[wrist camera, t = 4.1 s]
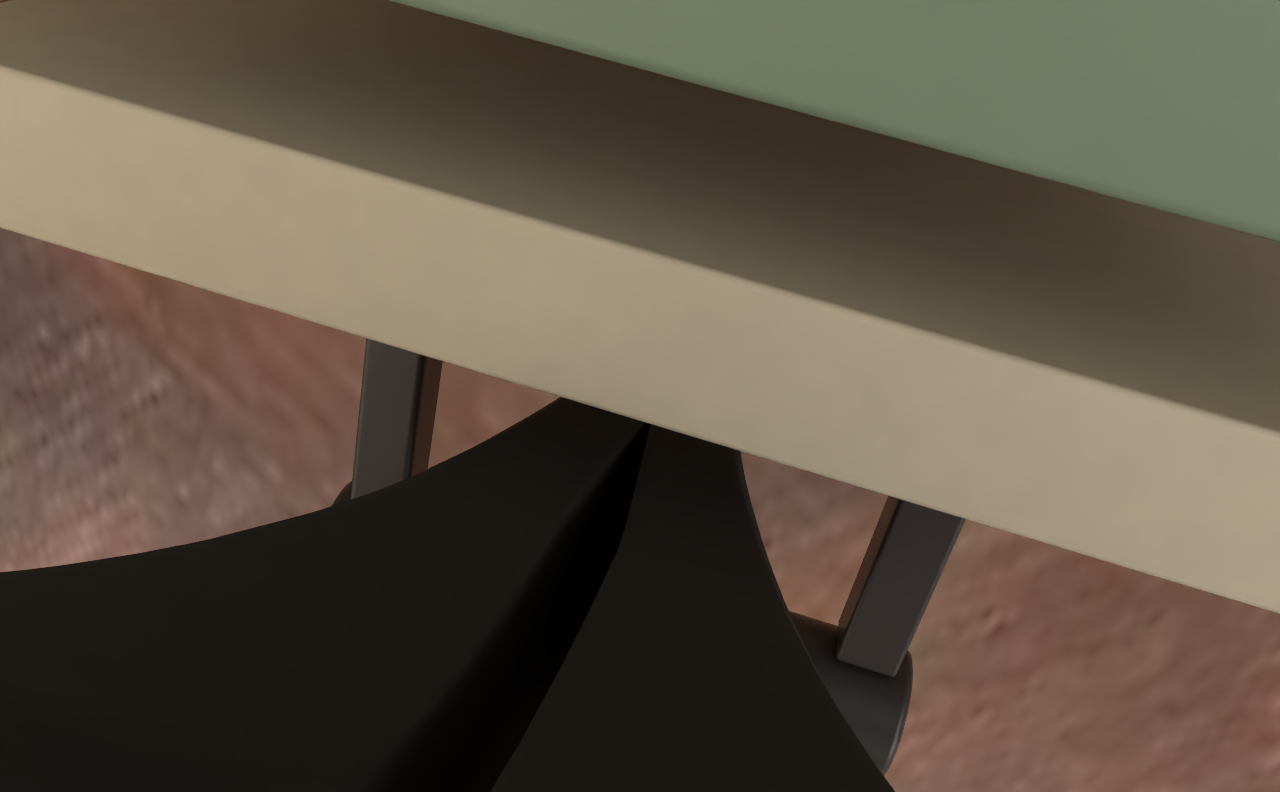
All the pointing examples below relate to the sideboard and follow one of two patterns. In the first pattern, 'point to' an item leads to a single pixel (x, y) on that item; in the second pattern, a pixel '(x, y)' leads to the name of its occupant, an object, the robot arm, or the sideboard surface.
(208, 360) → the sideboard surface
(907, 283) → the drawer
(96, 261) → the sideboard surface
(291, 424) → the sideboard surface
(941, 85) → the cabinet
